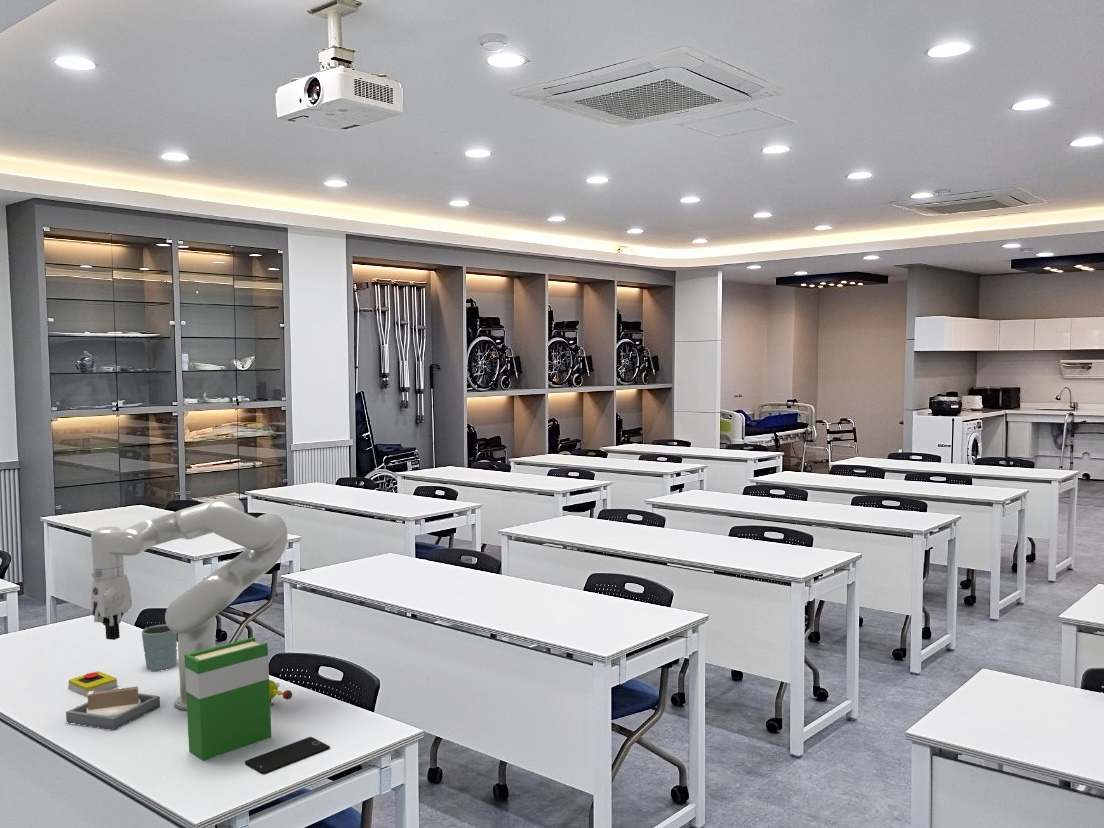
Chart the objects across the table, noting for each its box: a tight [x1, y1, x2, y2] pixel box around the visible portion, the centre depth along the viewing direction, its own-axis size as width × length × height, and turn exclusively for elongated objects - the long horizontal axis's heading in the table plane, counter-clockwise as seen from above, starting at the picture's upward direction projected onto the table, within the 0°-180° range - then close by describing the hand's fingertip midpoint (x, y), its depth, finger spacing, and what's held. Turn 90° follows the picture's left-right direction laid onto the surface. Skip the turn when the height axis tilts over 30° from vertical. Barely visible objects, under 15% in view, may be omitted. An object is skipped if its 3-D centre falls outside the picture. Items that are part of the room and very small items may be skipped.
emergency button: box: [67, 670, 120, 699], centre depth 260 cm, size 9×4×15 cm
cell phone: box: [244, 736, 331, 776], centre depth 214 cm, size 9×18×1 cm, turn 137°
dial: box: [87, 686, 141, 717], centre depth 240 cm, size 13×13×6 cm
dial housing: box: [65, 692, 161, 731], centre depth 241 cm, size 16×16×3 cm
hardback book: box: [184, 636, 272, 762], centre depth 220 cm, size 18×7×24 cm, turn 135°
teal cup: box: [141, 623, 178, 672], centre depth 278 cm, size 10×10×12 cm
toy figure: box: [269, 679, 293, 707], centre depth 245 cm, size 18×6×7 cm, turn 59°
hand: (112, 638), depth 246 cm, fingers closed
